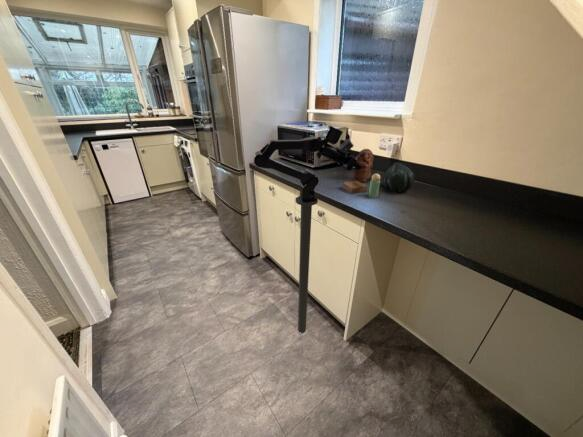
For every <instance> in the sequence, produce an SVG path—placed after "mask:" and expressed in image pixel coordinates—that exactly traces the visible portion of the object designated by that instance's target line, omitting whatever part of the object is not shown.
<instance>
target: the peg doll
mask: <svg viewBox="0 0 583 437" xmlns="http://www.w3.org/2000/svg"><path fill="white" fill-rule="evenodd" d="M369 182H370V183H369V189H368V194H367V196H368V197H369V198H373V199H374V198H378V195H379V190H380V184H381V175H380V174H379V173H373V174H371V179H370V181H369Z"/></svg>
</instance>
